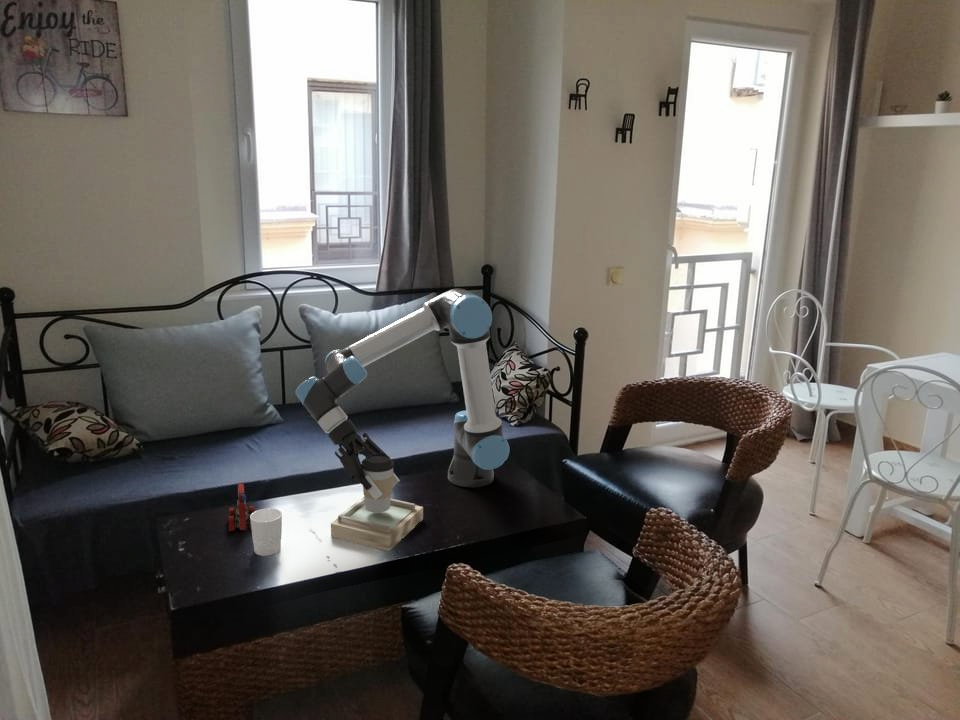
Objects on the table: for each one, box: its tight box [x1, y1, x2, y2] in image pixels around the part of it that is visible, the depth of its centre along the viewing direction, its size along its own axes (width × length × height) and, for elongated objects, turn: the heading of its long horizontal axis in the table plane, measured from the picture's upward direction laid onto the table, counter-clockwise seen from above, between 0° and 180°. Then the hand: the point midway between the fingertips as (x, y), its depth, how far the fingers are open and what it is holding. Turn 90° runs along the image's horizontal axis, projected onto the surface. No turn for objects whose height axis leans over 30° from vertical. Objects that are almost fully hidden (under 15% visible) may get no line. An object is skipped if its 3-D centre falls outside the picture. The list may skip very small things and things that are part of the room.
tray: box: [330, 496, 424, 552], centre depth 202 cm, size 20×18×6 cm
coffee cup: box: [361, 452, 395, 513], centre depth 199 cm, size 9×9×15 cm
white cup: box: [250, 507, 283, 557], centre depth 188 cm, size 8×8×10 cm
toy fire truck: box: [228, 483, 256, 532], centre depth 201 cm, size 7×12×10 cm, turn 18°
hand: (387, 490), depth 199 cm, fingers closed on coffee cup, 9 cm apart
